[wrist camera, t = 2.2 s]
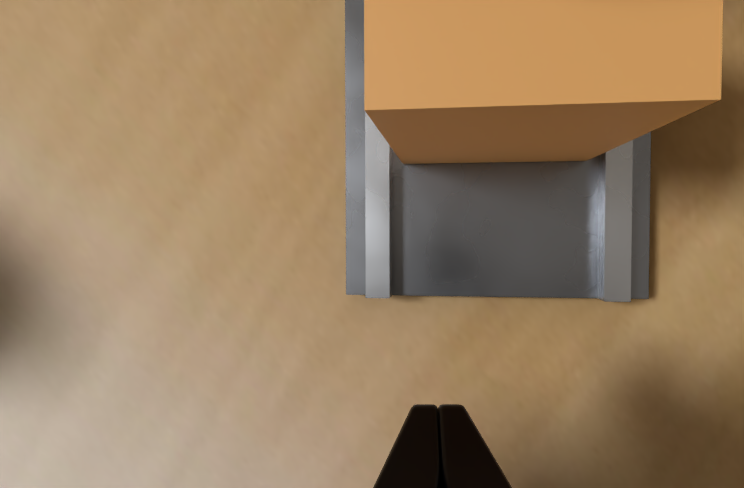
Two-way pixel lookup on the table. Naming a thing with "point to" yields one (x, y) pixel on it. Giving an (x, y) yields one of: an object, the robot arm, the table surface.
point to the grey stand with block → (489, 216)
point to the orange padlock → (534, 74)
